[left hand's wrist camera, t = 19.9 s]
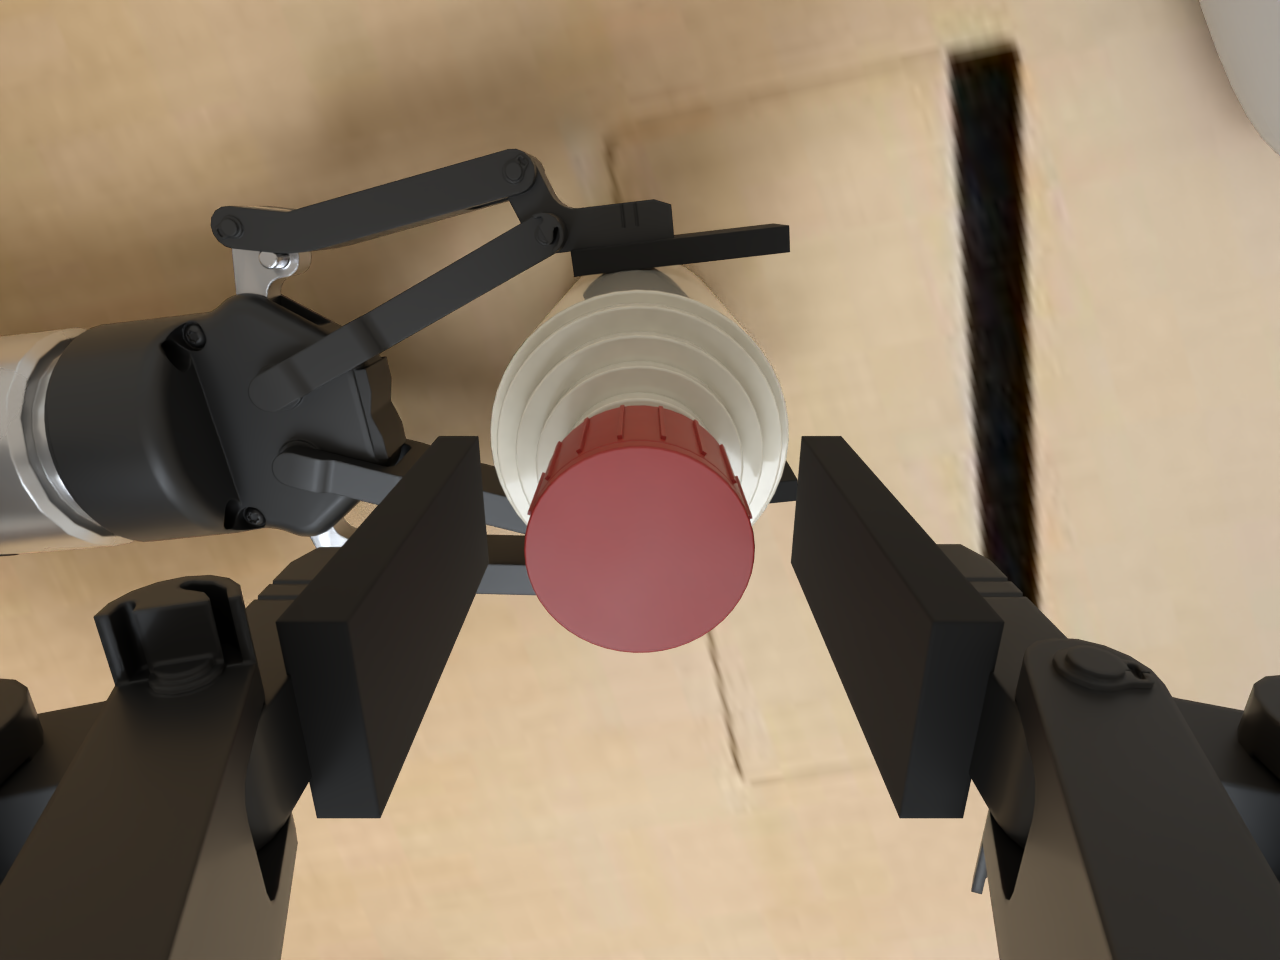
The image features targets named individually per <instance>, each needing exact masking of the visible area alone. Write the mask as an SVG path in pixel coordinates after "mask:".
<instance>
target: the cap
mask: <svg viewBox="0 0 1280 960" xmlns="http://www.w3.org/2000/svg"><path fill="white" fill-rule="evenodd" d="M527 515H530V518H529V521H528V524H527V529H526V533H525V542H524V555H525V565H526V569H527V573H528V577H529V580H530V582H531V585H532V588H533V590H534V592H535V593H536V595H537V597H538V599H539V601H540V602H541V603H542V605H543V606H544V607H545V609H546V610H547V611H548V613H549V614H550V615H551V616H552V617H553V618H554V619H555V620H556V621H557V622H558V623H559V624H561V625H562V626H563V627H564V628H566V629H567V630H568V631H570V632H571V633H573V634H575V635H576V636H578V637H579V638H581V639H583V640H586V641H588V642H590V643H592V644H595V645H598V646H601V647H604V648H607V649H612V650H616V651H623V652H633V653H643V652H656V651H663V650H667V649H671V648H676V647H678V646H681V645H684V644H687V643H689V642H691V641H693V640H695V639H697V638H699V637H701V636H703V635H704V634H706V633H707V632H709V631H710V630H712V629H713V628H715V627H716V626H717V625H718V624H719V623H720V622H722V621H723V620H724V619H725V618H726V617H727V616H728V614H729V613H730V612H731V611H732V610H733V609H734V607H735V606H736V604H737V603H738V602H739V600H740V599H741V597H742V595H743V593H744V591H745V589H746V587H747V585H748V582H749V579H750V576H751V573H752V568H753V563H754V552H755V544H754V534H753V529H752V525H751V521H750V519H752V514H751V511H750V509H749V506H748V503H747V500H746V498H745V495H744V492H743V489H742V487H741V484H740V481H739V478H738V476H735V475H734V473H733V470H732V467H731V464H730V461H729V459H728V456H727V453H726V450H725V447H724V446H723V444H721V445H719V443H718V442H717V441H716V440H715V438H714V437H713V436H712V435H711V434H710V433H709V432H708V431H707V430H706V429H705V428H703V427H702V426H700V425H699V423H698V421H697V420H696V419H694V421H693V420H692V419H690V418H688V417H686V416H684V415H682V414H680V413H677V412H674V411H672V410H669V409H664V408H663V406H659V407H655V406H646V405H636V406H624V405H620V407H618V408H614V409H611V410H607V411H604V412H602V413H599V414H597V415H595V416H593V417H591V418H588V417H587V418H585V419H584V422H582V423H581V424H580V425H579V426H577V427H576V428H575V429H573V430H572V431H571V432H570V433H569V434H568V435H567V436H566V437H565V438H564V439H563V441H562V442H560V441H559V442H558V443H557V445H556V448H555V451H554V453H553V456H552V458H551V460H550V462H549V465H548V467H547V470H546V473H544V472H542V475H541V478H540V480H539V483H538V486H537V488H536V491H535V494H534V496H533V499H532V502H531V505H530V507H529V510H528V513H527Z"/></svg>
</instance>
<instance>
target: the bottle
mask: <svg viewBox="0 0 1280 960" xmlns="http://www.w3.org/2000/svg"><path fill="white" fill-rule="evenodd" d="M620 405H624V406H636V405H646V406H655V407H659V406H663V408H664V409H669V410H672V411H674V412H677V413H680V414H682V415H684V416H686V417H688V418H690V419H692V420H693V421H694V419H696V420H697V421H698V423H699V425H700V426H702V427H703V428H705V429H706V430H707V431H708V432H709V433H710V434H711V435H712V436H713V437H714V438H715V440H716V441H717V442H718V443H719V445H721V444H723V446H724V447H725V450H726V453H727V456H728V459H729V461H730V464H731V467H732V470H733V473H734V475H735V476H738V478H739V481H740V484H741V487H742V489H743V492H744V495H745V498H746V500H747V503H748V506H749V509H750V511H751V514H752V519H750V521H751V525H752V526H753V525H754V524H755V522H756V521H757V520H758V518H759V517H760V516H761V514H762V513H763V512H764V510H765V509H766V507H767V506H768V504H769V502H770V501H771V499H772V497H773V495H774V494H775V491H776V489H777V486H778V484H779V482H780V479H781V477H782V473H783V470H784V466H785V462H786V458H787V450H788V442H789V421H788V415H787V408H786V402H785V399H784V395H783V392H782V389H781V385H780V383H779V381H778V378H777V376H776V374H775V372H774V370H773V367H772V366H771V364H770V362H769V361H768V359H767V358H766V356H765V355H764V353H763V352H762V350H761V349H760V348H759V346H758V345H757V344H756V343H755V342H754V341H753V339H752V338H751V337H750V336H749V335H748V334H747V332H746V331H745V330H744V329H743V328H742V327H741V325H740V324H739V323H738V322H737V321H736V320H735V318H734V317H733V316H732V315H731V314H730V313H729V311H728V310H727V309H726V308H725V307H724V306H723V304H722V303H721V302H720V301H719V300H718V299H717V297H716V296H715V295H714V294H713V293H712V292H711V290H710V289H709V288H708V287H707V286H706V285H705V283H704V282H703V281H702V280H701V279H700V278H699V277H697V276H696V275H695V274H694V273H693V272H691V271H690V270H688V269H687V268H685V267H684V266H682V265H673V266H664V267H656V268H647V269H638V270H629V271H620V272H612V273H603V274H595V275H586V276H582V277H581V278H580V279H579V280H578V281H577V282H576V283H575V284H574V285H573V286H572V287H571V288H570V289H569V291H568V292H567V293H566V294H565V295H564V296H563V298H562V299H561V300H560V301H559V302H558V303H557V304H556V306H555V307H554V308H553V309H552V310H551V311H550V313H549V314H548V315H547V316H546V317H545V318H544V319H543V321H542V322H541V323H540V324H539V325H538V326H537V328H536V329H535V330H534V331H533V332H532V333H531V335H530V336H529V337H528V338H527V339H526V340H525V342H524V343H523V344H522V346H521V347H520V348H519V349H518V351H517V352H516V353H515V354H514V356H513V358H512V359H511V361H510V363H509V365H508V366H507V368H506V370H505V372H504V374H503V376H502V379H501V381H500V384H499V386H498V389H497V392H496V396H495V400H494V404H493V408H492V416H491V426H490V433H491V449H492V455H493V461H494V466H495V469H496V472H497V475H498V479H499V482H500V484H501V486H502V488H503V490H504V493H505V495H506V497H507V499H508V500H509V502H510V504H511V505H512V507H513V508H514V510H515V512H516V513H517V514H518V516H519V517H520V518H521V519H522V520H523V522H524V523H525V524H526V525H527V524H528V521H529V518H530V515H527V513H528V510H529V507H530V505H531V502H532V499H533V496H534V494H535V491H536V488H537V486H538V483H539V480H540V478H541V475H542V472H544V473H546V470H547V467H548V465H549V462H550V460H551V458H552V456H553V453H554V451H555V448H556V445H557V443H558V442H559V441H560V442H562V441H563V439H564V438H565V437H566V436H567V435H568V434H569V433H570V432H571V431H572V430H573V429H575V428H576V427H577V426H579V425H580V424H581V423H582V422H584V419H585V418H587V417H588V418H591V417H593V416H595V415H597V414H599V413H602V412H604V411H607V410H611V409H614V408H618V407H620Z"/></svg>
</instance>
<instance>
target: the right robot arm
mask: <svg viewBox="0 0 1280 960" xmlns="http://www.w3.org/2000/svg"><path fill="white" fill-rule="evenodd" d="M507 201H510V203H511V205H512V207H513V209H514V211H515V213H516V215H517V216H518V218H519V220H520V222H521V224H519V225H517V226H516V227H514V228H512V229H511V230H509V231H507V232H505V233H504V234H502V235H500V236H499V237H497V238H495V239H493V240H492V241H490V242H488V243H487V244H485V245H483V246H481V247H480V248H478V249H476V250H475V251H473V252H471V253H469V254H468V255H466V256H464V257H463V258H461V259H459V260H457V261H456V262H454V263H452V264H451V265H449V266H447V267H445V268H444V269H442V270H440V271H439V272H437V273H435V274H433V275H432V276H430V277H428V278H427V279H425V280H423V281H421V282H420V283H418V284H416V285H415V286H413V287H411V288H409V289H408V290H406V291H404V292H403V293H401V294H399V295H397V296H396V297H394V298H392V299H391V300H389V301H387V302H385V303H384V304H382V305H380V306H379V307H377V308H375V309H373V310H372V311H370V312H368V313H367V314H365V315H363V316H361V317H359V318H357V319H355V320H353V321H351V322H349V323H348V324H346V325H344V326H340V325H339V324H337V323H335V322H333V321H331V320H329V319H327V318H325V317H323V316H322V315H320V314H318V313H316V312H314V311H312V310H310V309H308V308H306V307H305V306H303V305H301V304H299V303H297V302H295V301H293V300H291V299H289V298H288V297H286V296H284V295H282V294H281V286H282V284H283V282H284V281H285V280H286V278H288V277H290V276H294V275H299V274H302V273H304V272H306V271H307V270H308V268H309V267H310V264H311V251H317V250H325V249H333V248H338V247H343V246H348V245H352V244H356V243H359V242H363V241H366V240H370V239H374V238H377V237H381V236H384V235H388V234H392V233H395V232H399V231H402V230H406V229H410V228H413V227H417V226H420V225H424V224H428V223H431V222H435V221H438V220H442V219H446V218H449V217H453V216H456V215H460V214H464V213H467V212H471V211H474V210H478V209H482V208H485V207H489V206H493V205H496V204H500V203H503V202H507ZM211 228H212V231H213V234H214V236H215V237H216V238H217V240H218V241H219V242H220V243H222V244H223V245H224V246H226V247H229V248H232V256H233V266H234V276H235V286H236V295H234V296H232V297H230V298H228V299H227V300H225V301H224V302H223V303H222V304H221V305H220V306H219V307H217V308H216V309H214V310H213V311H211V312H207V313H198V314H190V315H181V316H173V317H164V318H156V319H147V320H139V321H130V322H121V323H113V324H105V325H99V326H96V327H93V328H90V329H83V328H69V329H61V330H52V331H43V332H35V333H26V334H17V335H9V336H0V556H10V555H18V554H25V553H37V552H49V551H60V550H72V549H84V548H95V547H107V546H115V545H121V544H127V543H131V542H133V541H142V542H147V541H160V540H170V539H180V538H189V537H199V536H209V535H219V534H229V533H237V532H243V531H249V530H255V529H260V528H276V529H281V530H284V531H288V532H290V533H293V534H296V535H299V536H306V537H310V538H311V539H312V541H313V543H314V545H315V547H316V548H318V547H342V546H343V544H344V543H345V542H346V541H347V540H348V539H349V538H350V536H351V535H352V534H353V533H354V532H355V531H356V530H357V529H358V528H355V527H353V526H351V525H349V524H348V523H347V522H346V520H345V519H344V516H345V515H346V514H347V513H348V512H349V511H350V510H351V509H352V508H354V507H355V506H356V505H357V504H358V503H359V502H360V501H364V502H368V503H372V504H376V505H379V504H380V502H381V501H382V500H383V499H384V498H385V497H386V496H387V494H388V493H389V492H390V491H391V490H392V489H393V488H394V487H395V485H396V484H397V483H398V482H399V481H400V480H401V479H402V477H403V476H404V475H405V474H406V473H407V472H408V471H409V470H410V468H411V467H412V466H413V465H414V464H415V463H416V462H417V460H418V459H419V458H420V457H421V456H422V455H423V454H424V452H425V451H426V450H427V449H428V448H429V447H430V445H428V444H425V443H421V442H417V441H413V440H409V439H406V437H405V433H404V429H403V424H402V421H401V419H400V417H399V415H398V413H397V411H396V409H395V407H394V406H393V404H392V402H391V374H390V370H389V366H388V362H387V358H386V357H380V356H379V354H380V353H381V352H383V351H385V350H387V349H388V348H390V347H392V346H394V345H395V344H397V343H399V342H401V341H402V340H404V339H406V338H408V337H409V336H411V335H413V334H415V333H416V332H418V331H420V330H422V329H423V328H425V327H427V326H429V325H430V324H432V323H434V322H436V321H437V320H439V319H441V318H443V317H444V316H446V315H448V314H450V313H451V312H453V311H455V310H457V309H458V308H460V307H462V306H464V305H465V304H467V303H469V302H471V301H472V300H474V299H476V298H478V297H480V296H481V295H483V294H485V293H487V292H488V291H490V290H492V289H494V288H495V287H497V286H499V285H501V284H502V283H504V282H506V281H508V280H509V279H511V278H513V277H515V276H516V275H518V274H520V273H522V272H523V271H525V270H527V269H529V268H530V267H532V266H534V265H536V264H537V263H539V262H541V261H543V260H544V259H546V258H548V257H550V256H551V255H553V254H555V253H562V252H570V251H571V256H572V264H573V271H574V277H577V276H586V275H595V274H603V273H612V272H620V271H629V270H638V269H647V268H656V267H664V266H673V265H682V264H690V263H699V262H708V261H716V260H725V259H734V258H742V257H751V256H760V255H768V254H777V253H786V252H790V239H789V225H780V224H766V225H757V226H748V227H740V228H731V229H723V230H714V231H706V232H697V233H688V234H680V235H674V232H673V220H672V209H671V204H668V203H664V202H661V201H658V200H654V199H653V200H644V201H636V202H628V203H619V204H611V205H602V206H594V207H586V208H572V207H568V206H567V205H565V204H563V203H562V202H561V201H560V200H559V199H558V197H557V196H556V194H555V192H554V190H553V188H552V186H551V184H550V182H549V180H548V178H547V176H546V174H545V170H544V168H543V166H542V164H541V162H540V161H539V160H538V159H536V158H535V157H533V156H531V155H529V154H527V153H525V152H523V151H520V150H518V149H507V150H504V151H500V152H497V153H493V154H490V155H486V156H483V157H479V158H475V159H472V160H468V161H465V162H461V163H458V164H454V165H451V166H447V167H444V168H440V169H437V170H433V171H430V172H426V173H423V174H419V175H416V176H412V177H409V178H405V179H402V180H398V181H395V182H391V183H387V184H384V185H380V186H377V187H373V188H370V189H366V190H363V191H359V192H356V193H352V194H349V195H345V196H342V197H338V198H335V199H331V200H328V201H324V202H321V203H317V204H314V205H310V206H307V207H303V208H299V209H290V208H280V207H271V206H225V207H220V208H219V209H217V210H216V211H215V212H214V214H213V216H212V217H211ZM481 474H482V486H483V498H484V510H485V521H486V525H490V526H494V527H498V528H503V529H507V530H511V531H515V532H519V533H523V534H525V533H526V529H527V525H526V524H525V523H524V522H523V520H522V519H521V518H520V517H519V516H518V514H517V513H516V512H515V510H514V508H513V507H512V505H511V504H510V502H509V500H508V499H507V497H506V495H505V493H504V490H503V488H502V486H501V484H500V482H499V479H498V475H497V472H496V469H495V466H491V465H487V464H483V463H481ZM797 486H798V480H797V478H796V476H795V475H794V473H793V471H792V469H791V468H790V466H789V464H788V463H787V461H786V462H785V466H784V470H783V473H782V477H781V479H780V482H779V484H778V486H777V489H776V491H775V494H774V495H773V497H772V499H771V501H770V502H769V503H778V502H788V501H796V498H797ZM524 542H525V536H519V535H487V545H488V557H489V564H488V566H487V569H486V571H485V573H484V576H483V578H482V580H481V583H480V585H479V587H478V590H477V592H476V594H510V595H536V593H535V592H534V590H533V588H532V585H531V582H530V580H529V577H528V573H527V569H526V565H525V555H524Z"/></svg>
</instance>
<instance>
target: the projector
mask: <svg viewBox="0 0 1280 960" xmlns="http://www.w3.org/2000/svg"><path fill="white" fill-rule="evenodd" d="M1199 3H1200V6H1201V9H1202V12H1203V15H1204V18H1205V20H1206V23H1207V26H1208V29H1209V32H1210V34H1211V37H1212V40H1213V43H1214V46H1215V48H1216V51H1217V54H1218V56H1219V58H1220V61H1221V63H1222V65H1223V68H1224V70H1225V72H1226V75H1227V77H1228V80H1229V82H1230V84H1231V87H1232V89H1233V91H1234V93H1235V95H1236V96H1237V98H1238V100H1239V102H1240V104H1241V106H1242V108H1243V110H1244V112H1245V114H1246V116H1247V117H1248V119H1249V120H1250V122H1251V123H1252V125H1253V126H1254V128H1255V129H1256V130H1257V132H1258V133H1259V135H1260V136H1261V138H1262V139H1263V140H1264V141H1265V142H1266V143H1267V144H1268V145H1269V146H1270V147H1271V148H1272V149H1273V150H1274V151H1275V152H1276V153H1277V154H1278V155H1279V156H1280V0H1199Z"/></svg>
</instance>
